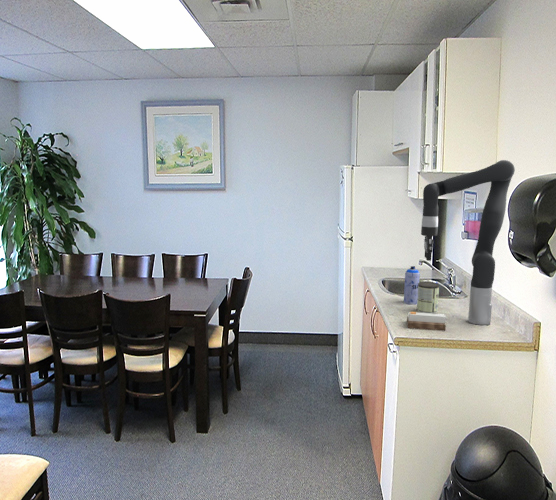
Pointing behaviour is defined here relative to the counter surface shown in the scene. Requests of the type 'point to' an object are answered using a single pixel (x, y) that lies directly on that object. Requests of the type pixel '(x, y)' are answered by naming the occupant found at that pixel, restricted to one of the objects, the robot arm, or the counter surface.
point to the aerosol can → (411, 286)
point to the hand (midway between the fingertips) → (427, 259)
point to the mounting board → (426, 325)
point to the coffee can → (427, 297)
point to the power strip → (426, 317)
